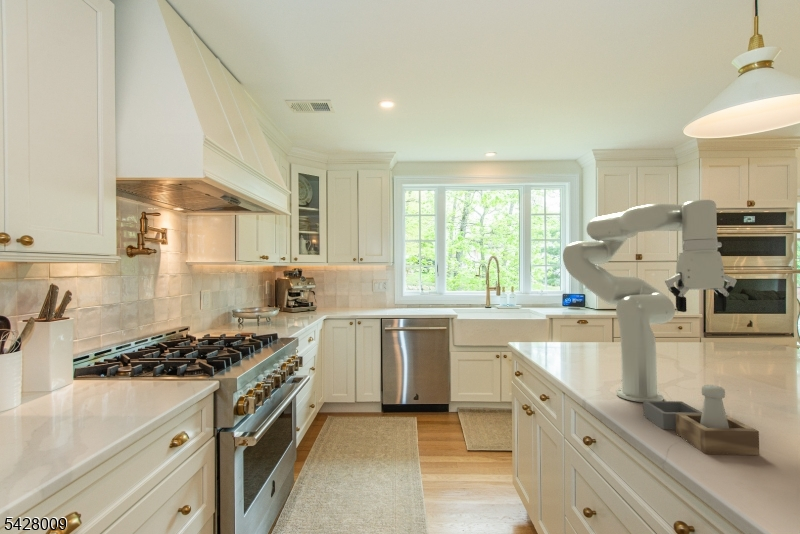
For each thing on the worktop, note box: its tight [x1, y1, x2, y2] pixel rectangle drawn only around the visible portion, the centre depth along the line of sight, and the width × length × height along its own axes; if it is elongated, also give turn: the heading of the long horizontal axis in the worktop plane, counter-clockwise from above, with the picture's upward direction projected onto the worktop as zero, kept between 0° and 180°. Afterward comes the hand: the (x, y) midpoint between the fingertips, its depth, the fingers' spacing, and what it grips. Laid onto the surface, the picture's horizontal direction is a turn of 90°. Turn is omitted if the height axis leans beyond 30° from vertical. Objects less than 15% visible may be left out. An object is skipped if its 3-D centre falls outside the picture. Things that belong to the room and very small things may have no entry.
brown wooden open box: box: [675, 413, 761, 456], centre depth 93 cm, size 11×11×5 cm
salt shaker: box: [700, 384, 729, 428], centre depth 93 cm, size 6×6×13 cm
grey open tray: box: [642, 400, 702, 430], centre depth 106 cm, size 10×10×4 cm
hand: (700, 311), depth 110 cm, fingers open, 9 cm apart
